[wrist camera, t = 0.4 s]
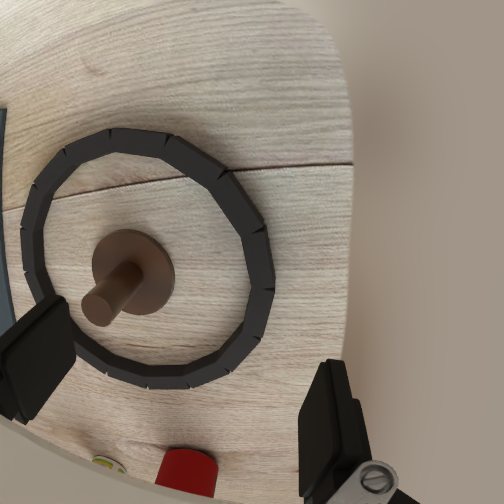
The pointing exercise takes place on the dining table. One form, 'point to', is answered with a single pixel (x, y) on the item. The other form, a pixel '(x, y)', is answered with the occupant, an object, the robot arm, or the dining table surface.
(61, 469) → the robot arm
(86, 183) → the dining table surface
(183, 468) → the beverage can
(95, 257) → the brown peg stand
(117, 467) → the supplement bottle
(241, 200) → the ring
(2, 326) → the mat
